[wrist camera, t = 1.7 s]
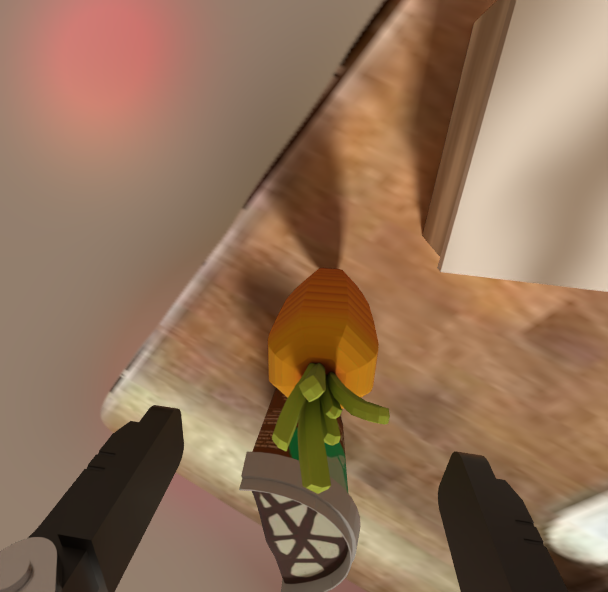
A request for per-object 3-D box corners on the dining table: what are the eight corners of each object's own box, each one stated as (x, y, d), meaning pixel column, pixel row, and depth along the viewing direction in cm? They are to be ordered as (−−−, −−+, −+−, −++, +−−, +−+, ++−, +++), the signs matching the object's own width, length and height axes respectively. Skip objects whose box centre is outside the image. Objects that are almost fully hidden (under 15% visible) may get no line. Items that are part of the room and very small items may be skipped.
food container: (363, 473, 31) (371, 608, 22) (300, 474, 32) (282, 603, 23) (347, 365, 26) (348, 481, 17) (273, 371, 27) (236, 482, 18)
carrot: (313, 228, 22) (261, 363, 8) (380, 260, 22) (434, 438, 9) (285, 290, 24) (206, 477, 10) (346, 318, 24) (347, 534, 11)
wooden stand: (718, 30, 16) (915, -30, 10) (604, 261, 21) (696, 302, 15) (469, 14, 16) (530, -50, 11) (416, 239, 21) (440, 271, 16)
